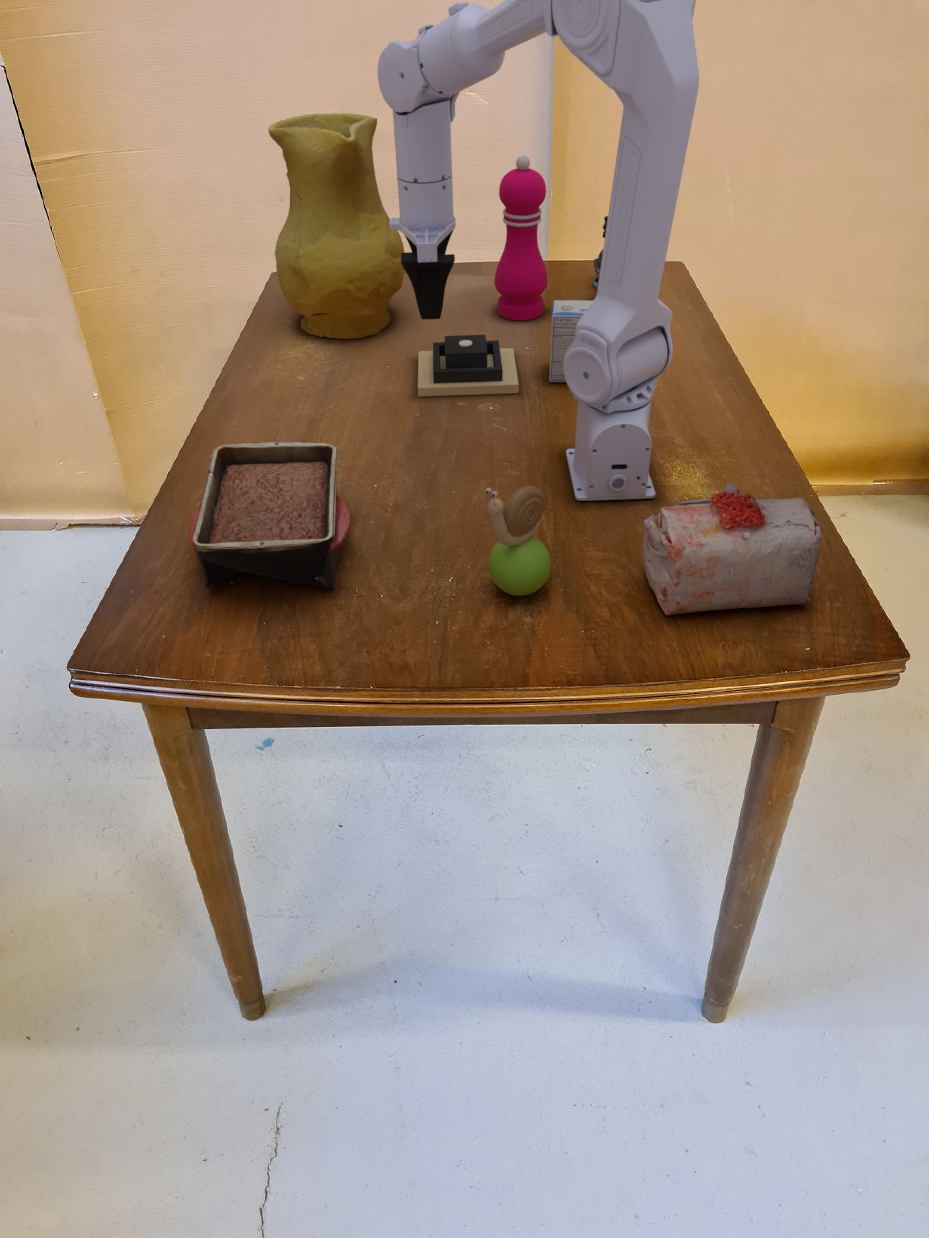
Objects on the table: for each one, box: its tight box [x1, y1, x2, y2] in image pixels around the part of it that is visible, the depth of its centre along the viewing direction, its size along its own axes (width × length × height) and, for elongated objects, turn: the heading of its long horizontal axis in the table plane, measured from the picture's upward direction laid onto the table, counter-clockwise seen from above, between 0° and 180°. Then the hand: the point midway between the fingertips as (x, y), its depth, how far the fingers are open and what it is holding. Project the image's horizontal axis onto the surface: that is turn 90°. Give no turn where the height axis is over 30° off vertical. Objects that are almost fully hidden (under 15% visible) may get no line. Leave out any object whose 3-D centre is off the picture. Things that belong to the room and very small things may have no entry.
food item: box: [641, 480, 824, 616], centre depth 76 cm, size 14×8×10 cm, turn 95°
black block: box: [444, 334, 487, 369], centre depth 110 cm, size 5×5×3 cm
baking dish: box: [188, 441, 352, 590], centre depth 83 cm, size 14×18×10 cm
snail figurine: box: [485, 485, 552, 597], centre depth 76 cm, size 5×6×12 cm
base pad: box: [417, 339, 520, 398], centre depth 111 cm, size 10×12×3 cm
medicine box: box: [548, 299, 593, 383], centre depth 108 cm, size 8×4×9 cm, turn 84°
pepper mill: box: [494, 154, 549, 321], centre depth 120 cm, size 7×7×20 cm
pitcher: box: [267, 112, 406, 340], centre depth 118 cm, size 17×19×25 cm
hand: (430, 304), depth 103 cm, fingers open, 7 cm apart
